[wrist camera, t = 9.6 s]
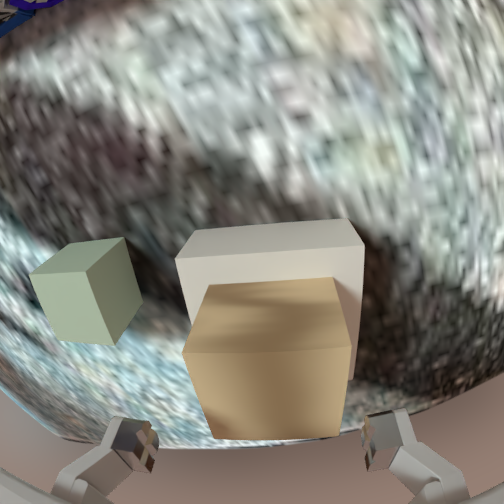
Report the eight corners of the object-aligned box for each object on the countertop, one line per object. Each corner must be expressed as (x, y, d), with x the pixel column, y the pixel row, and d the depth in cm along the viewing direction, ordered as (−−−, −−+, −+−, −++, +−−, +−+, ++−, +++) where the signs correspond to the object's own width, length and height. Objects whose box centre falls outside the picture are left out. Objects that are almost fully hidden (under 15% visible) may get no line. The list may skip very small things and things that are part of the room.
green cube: (90, 301, 22) (57, 340, 17) (70, 243, 20) (28, 274, 15) (143, 301, 21) (114, 345, 16) (124, 236, 19) (85, 271, 14)
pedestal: (219, 346, 22) (209, 385, 18) (195, 230, 18) (174, 258, 15) (343, 339, 21) (352, 379, 17) (347, 218, 17) (364, 245, 14)
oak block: (228, 370, 17) (214, 438, 13) (209, 284, 15) (181, 352, 11) (329, 365, 17) (338, 435, 12) (332, 276, 14) (351, 346, 10)
